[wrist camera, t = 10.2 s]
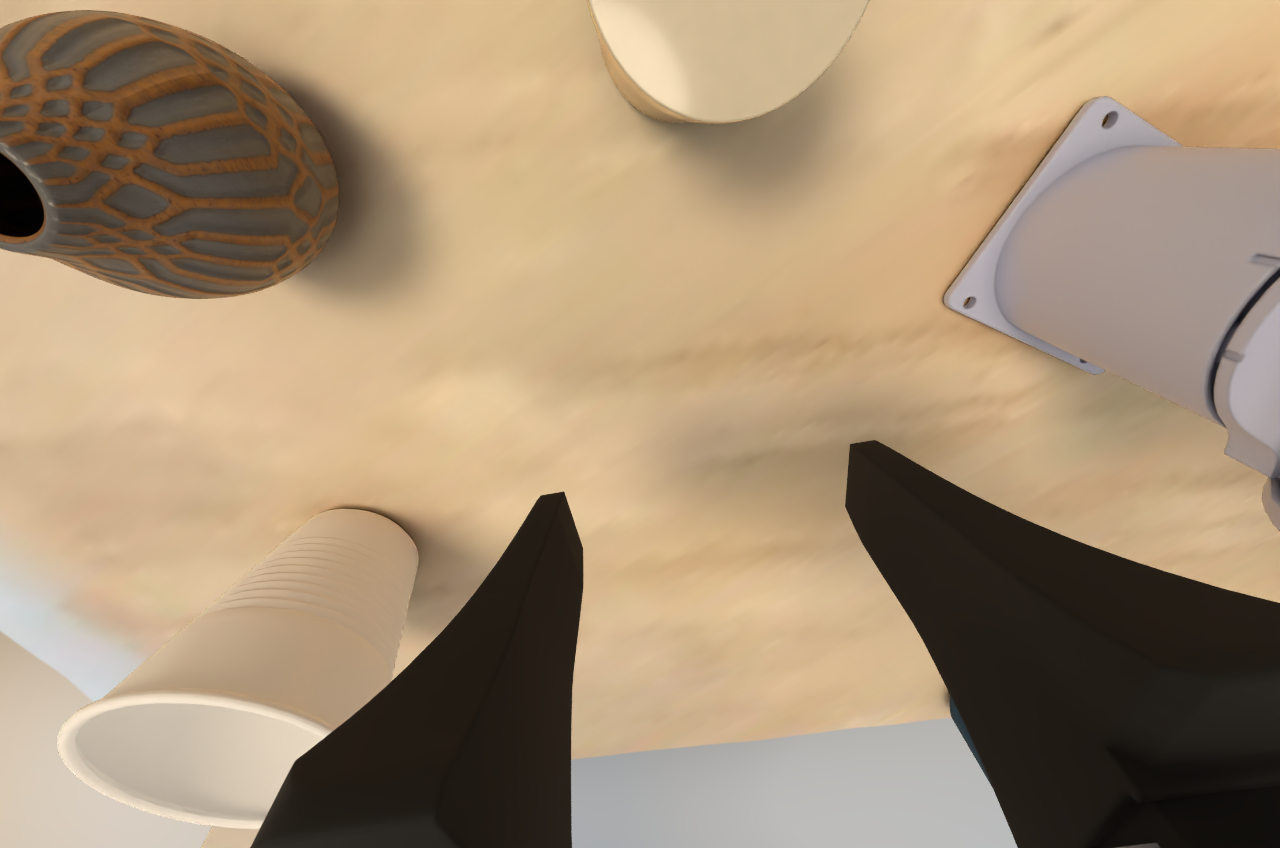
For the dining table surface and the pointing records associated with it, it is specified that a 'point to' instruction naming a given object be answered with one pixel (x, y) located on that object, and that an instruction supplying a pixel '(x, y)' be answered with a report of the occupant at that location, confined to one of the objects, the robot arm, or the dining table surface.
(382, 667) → the cup
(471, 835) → the robot arm
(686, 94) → the jar
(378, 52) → the dining table surface
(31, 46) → the vase
